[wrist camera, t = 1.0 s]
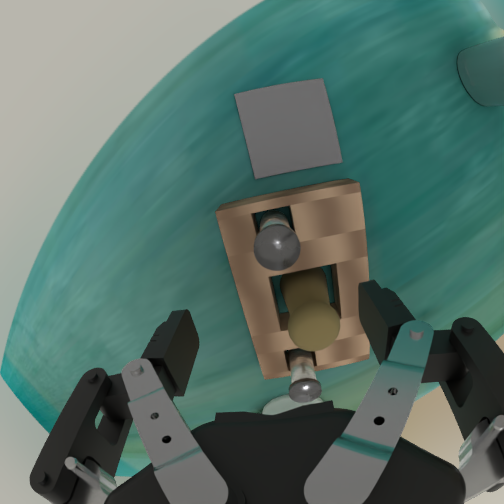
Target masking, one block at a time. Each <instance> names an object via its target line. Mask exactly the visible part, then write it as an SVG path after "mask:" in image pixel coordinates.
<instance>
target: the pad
mask: <svg viewBox="0 0 504 504" xmlns="http://www.w3.org/2000/svg"><path fill="white" fill-rule="evenodd" d="M234 96H235V99H236V103H237V107H238V111H239V115H240V119H241V123H242V127H243V131H244V135H245V139H246V143H247V147H248V151H249V155H250V159H251V164H252V168H253V172H254V176H255V179H258V178H263V177H267V176H272V175H277V174H282V173H287V172H292V171H297V170H302V169H307V168H313V167H318V166H324V165H330V164H336V163H342V157H341V152H340V147H339V142H338V137H337V133H336V128H335V124H334V120H333V115H332V111H331V107H330V103H329V99H328V96H327V92H326V88H325V85H324V81H323V78H322V79H313V80H306V81H299V82H292V83H286V84H280V85H274V86H269V87H264V88H259V89H254V90H250V91H245V92H241V93H237V94H234Z"/></svg>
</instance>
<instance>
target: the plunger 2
mask: <svg viewBox="0 0 504 504" xmlns="http://www.w3.org/2000/svg"><path fill="white" fill-rule="evenodd" d="M289 359H290V370H291V382H292V384H291V385H290V387H289V397H290V399H291V400H293V401H295V402H298V403H307V402H311V401H313V400H315V399H317V398H318V397H319V396H320V395H321V392H322V390H321V384H320V382H319V381H317V380H316V375H315V370H314V364H313V359H312V354H311V351H306V350H303V349H301V348H296V349H290V350H289Z"/></svg>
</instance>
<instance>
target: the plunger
mask: <svg viewBox="0 0 504 504" xmlns="http://www.w3.org/2000/svg"><path fill="white" fill-rule="evenodd" d="M253 249H254V255H255V258H256V260H257V261H258V263H259V264H260V265H262V266H263V267H264V268H266V269H269V270H273V271H281V270H285V269H287V268H289V267H291V266H292V265H293V264H294V263H295V262H296V261H297V259H298V258H299V255H300V251H301V246H300V241H299V239H298V236H297V234H296V233H295V232H294V231H293V230H292V229H291V228H290V226H289V223H288V219H287V217H286V216H285V214H284V213H282V212H280V211H278V210H271V211H268V212H266V213H265V214H264V215H263V216H262V218H261V222H260V231H259V233H258V234H257V236H256V238H255V241H254V248H253Z"/></svg>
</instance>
